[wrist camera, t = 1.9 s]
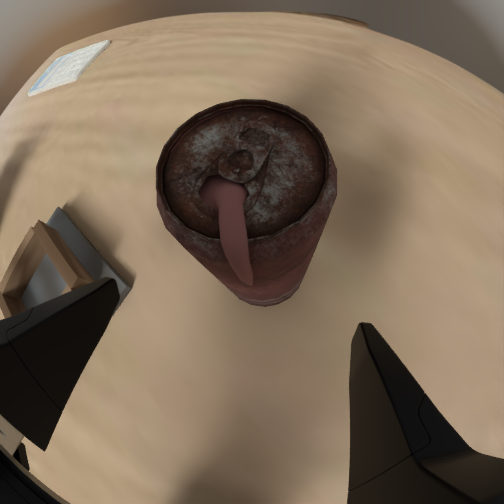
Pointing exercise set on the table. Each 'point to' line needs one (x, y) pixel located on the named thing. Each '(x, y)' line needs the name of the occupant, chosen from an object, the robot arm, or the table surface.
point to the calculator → (68, 68)
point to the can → (248, 195)
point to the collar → (53, 266)
